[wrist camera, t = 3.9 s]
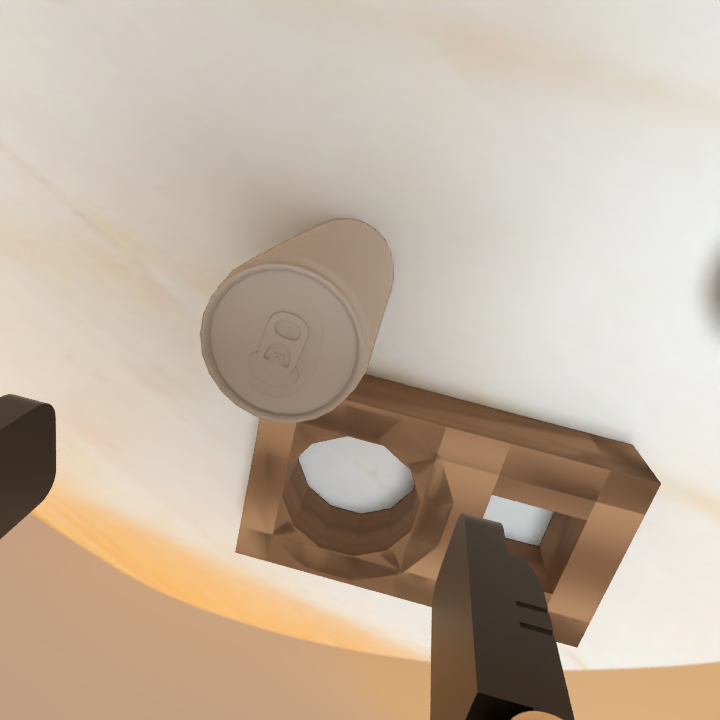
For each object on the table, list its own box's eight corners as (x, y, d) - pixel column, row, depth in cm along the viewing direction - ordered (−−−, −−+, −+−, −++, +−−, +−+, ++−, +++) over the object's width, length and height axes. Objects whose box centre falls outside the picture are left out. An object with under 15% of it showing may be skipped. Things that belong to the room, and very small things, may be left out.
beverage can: (282, 293, 27) (175, 387, 15) (316, 200, 25) (224, 227, 14) (372, 332, 27) (330, 453, 16) (412, 242, 25) (398, 303, 14)
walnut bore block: (286, 353, 28) (267, 378, 24) (633, 445, 27) (660, 483, 24) (255, 511, 31) (235, 552, 28) (561, 596, 31) (577, 647, 27)
